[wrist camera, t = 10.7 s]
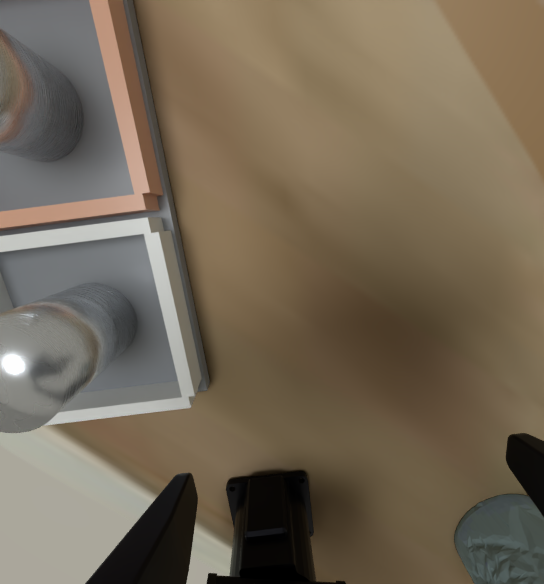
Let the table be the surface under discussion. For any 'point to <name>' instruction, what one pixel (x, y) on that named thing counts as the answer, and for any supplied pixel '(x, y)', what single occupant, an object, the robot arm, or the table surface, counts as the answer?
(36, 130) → the steel billet
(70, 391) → the billet
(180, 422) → the table surface
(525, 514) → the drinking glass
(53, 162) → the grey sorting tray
